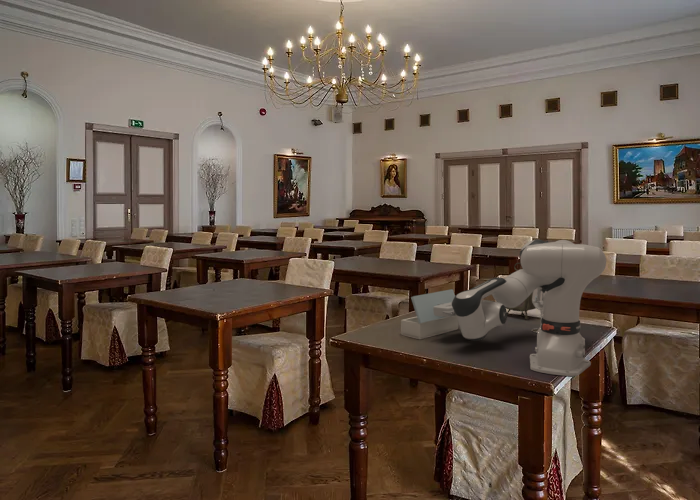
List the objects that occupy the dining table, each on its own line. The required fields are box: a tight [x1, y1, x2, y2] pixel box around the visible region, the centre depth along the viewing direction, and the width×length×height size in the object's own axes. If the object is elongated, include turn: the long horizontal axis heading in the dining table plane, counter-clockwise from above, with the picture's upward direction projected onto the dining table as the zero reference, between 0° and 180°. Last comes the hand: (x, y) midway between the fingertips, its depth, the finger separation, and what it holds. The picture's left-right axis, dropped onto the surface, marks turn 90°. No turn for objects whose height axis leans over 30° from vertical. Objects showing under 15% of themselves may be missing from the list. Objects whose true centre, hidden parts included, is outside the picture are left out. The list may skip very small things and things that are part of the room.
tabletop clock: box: [505, 262, 537, 320], centre depth 242 cm, size 14×9×25 cm, turn 37°
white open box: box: [400, 315, 459, 340], centre depth 217 cm, size 10×24×6 cm, turn 131°
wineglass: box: [531, 287, 547, 334], centre depth 215 cm, size 8×8×20 cm
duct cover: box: [410, 289, 456, 323], centre depth 214 cm, size 11×25×1 cm
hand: (439, 305), depth 213 cm, fingers closed, pressing on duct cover
